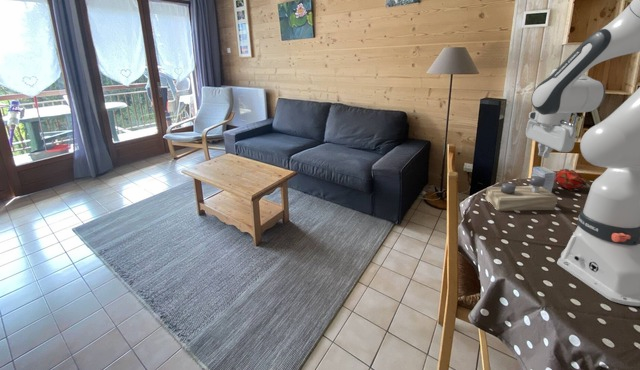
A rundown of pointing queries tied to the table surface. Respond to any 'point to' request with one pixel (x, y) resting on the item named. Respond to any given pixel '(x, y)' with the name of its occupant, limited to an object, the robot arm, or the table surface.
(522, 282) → the table surface
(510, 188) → the knob left
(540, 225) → the table surface
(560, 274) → the table surface
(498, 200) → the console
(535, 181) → the knob right
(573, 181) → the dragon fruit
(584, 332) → the table surface
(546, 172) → the medicine box
